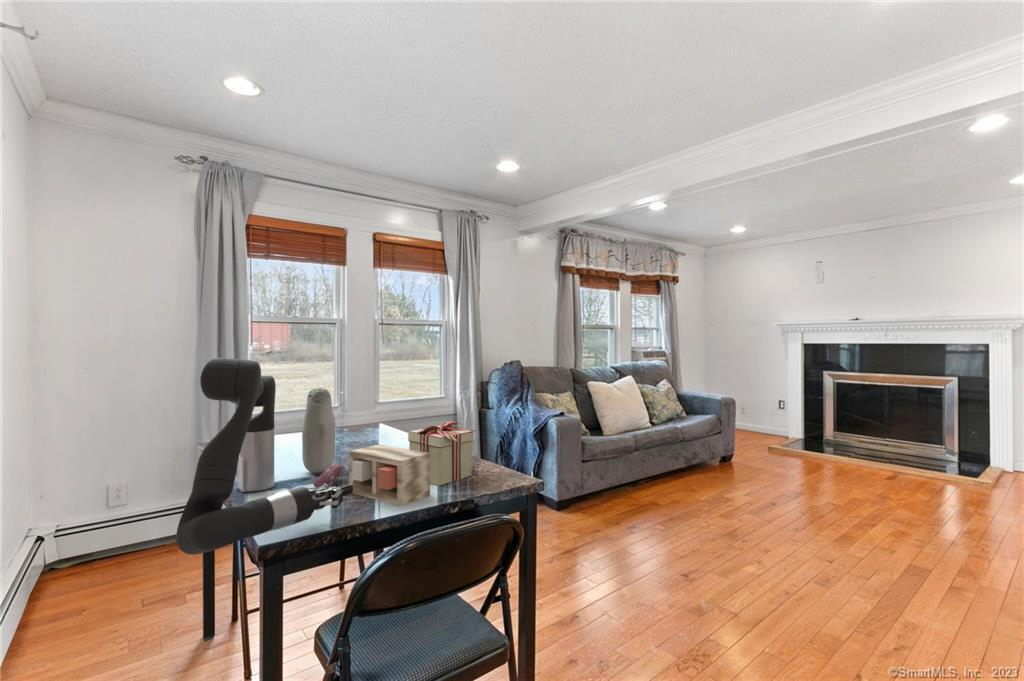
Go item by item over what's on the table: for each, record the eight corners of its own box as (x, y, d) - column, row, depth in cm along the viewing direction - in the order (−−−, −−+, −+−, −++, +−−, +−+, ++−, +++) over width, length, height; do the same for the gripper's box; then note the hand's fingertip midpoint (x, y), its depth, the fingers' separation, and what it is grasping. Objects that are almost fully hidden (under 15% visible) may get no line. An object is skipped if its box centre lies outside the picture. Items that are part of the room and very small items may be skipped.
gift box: (450, 489, 144) (450, 430, 144) (404, 479, 154) (405, 425, 154) (484, 475, 159) (484, 422, 159) (440, 467, 169) (440, 417, 169)
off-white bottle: (297, 472, 163) (297, 388, 163) (327, 466, 170) (327, 386, 170) (309, 478, 156) (309, 390, 156) (340, 472, 163) (340, 388, 163)
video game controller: (323, 493, 145) (333, 473, 144) (310, 486, 146) (320, 465, 145) (341, 484, 155) (350, 464, 154) (329, 477, 155) (338, 457, 155)
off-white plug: (361, 481, 136) (361, 463, 136) (352, 479, 138) (352, 461, 138) (383, 474, 143) (383, 457, 143) (374, 472, 145) (374, 456, 145)
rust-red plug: (387, 489, 128) (387, 470, 128) (377, 487, 131) (377, 468, 131) (409, 482, 135) (409, 464, 135) (399, 480, 137) (399, 462, 137)
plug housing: (401, 506, 129) (401, 460, 129) (349, 492, 141) (349, 451, 141) (429, 495, 138) (430, 453, 138) (379, 483, 150) (379, 444, 150)
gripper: (303, 496, 103) (368, 477, 117) (268, 486, 110) (333, 469, 125) (303, 532, 103) (368, 508, 117) (268, 519, 110) (333, 499, 125)
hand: (350, 488), depth 121 cm, fingers closed
